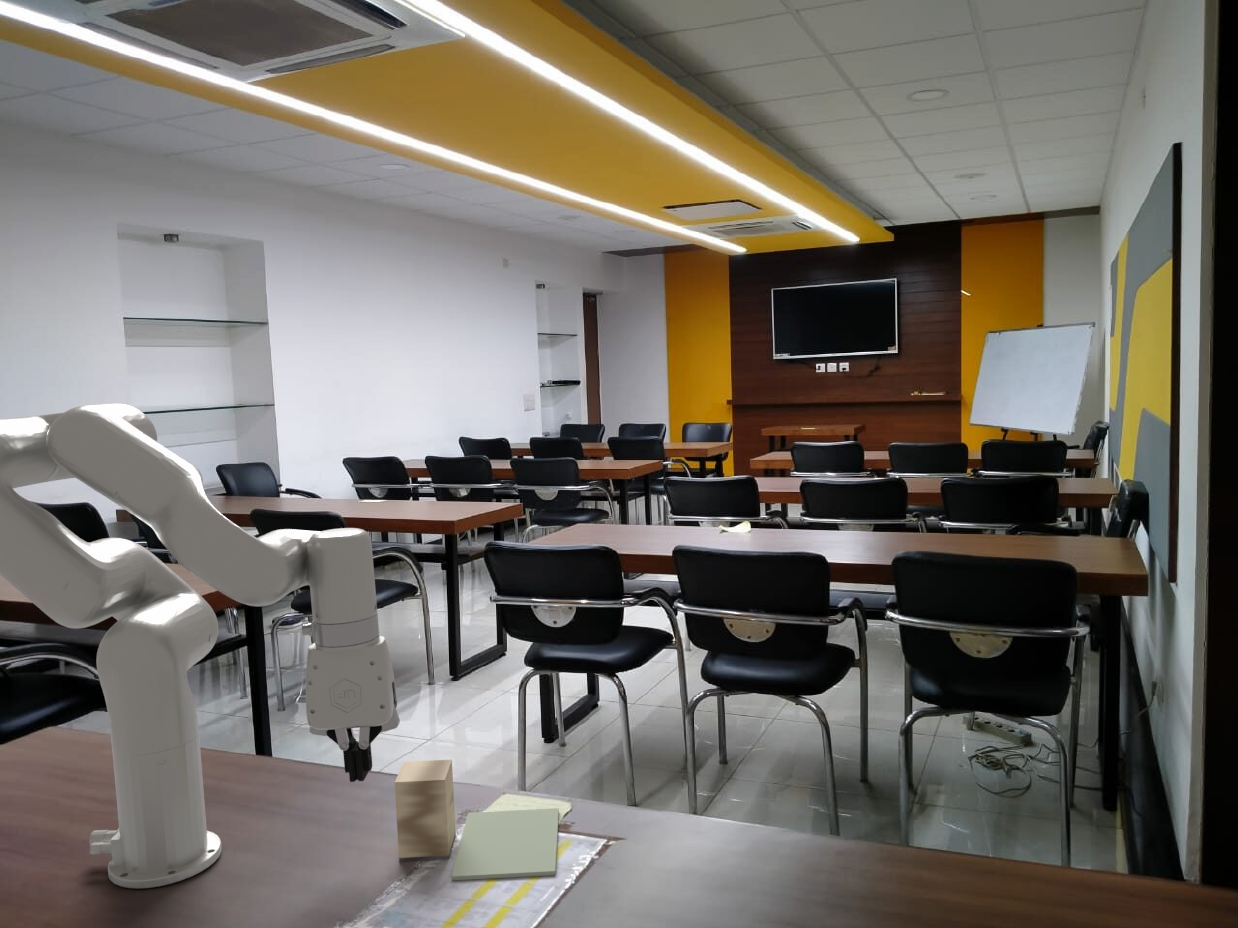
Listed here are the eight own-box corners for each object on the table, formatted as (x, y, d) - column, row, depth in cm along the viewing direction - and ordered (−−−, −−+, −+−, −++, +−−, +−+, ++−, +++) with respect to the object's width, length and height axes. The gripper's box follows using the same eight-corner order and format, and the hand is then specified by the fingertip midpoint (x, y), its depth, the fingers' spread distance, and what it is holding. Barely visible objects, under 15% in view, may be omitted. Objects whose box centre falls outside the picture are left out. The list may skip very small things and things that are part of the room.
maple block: (399, 861, 114) (394, 782, 113) (408, 837, 120) (404, 761, 119) (449, 859, 114) (444, 779, 114) (455, 835, 120) (451, 759, 119)
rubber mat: (451, 880, 110) (451, 876, 109) (468, 816, 125) (468, 812, 125) (555, 874, 110) (555, 870, 110) (558, 811, 126) (558, 808, 126)
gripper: (274, 644, 110) (288, 794, 112) (403, 635, 111) (415, 785, 113) (293, 627, 118) (307, 768, 120) (414, 619, 118) (425, 760, 120)
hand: (359, 776), depth 116 cm, fingers closed
